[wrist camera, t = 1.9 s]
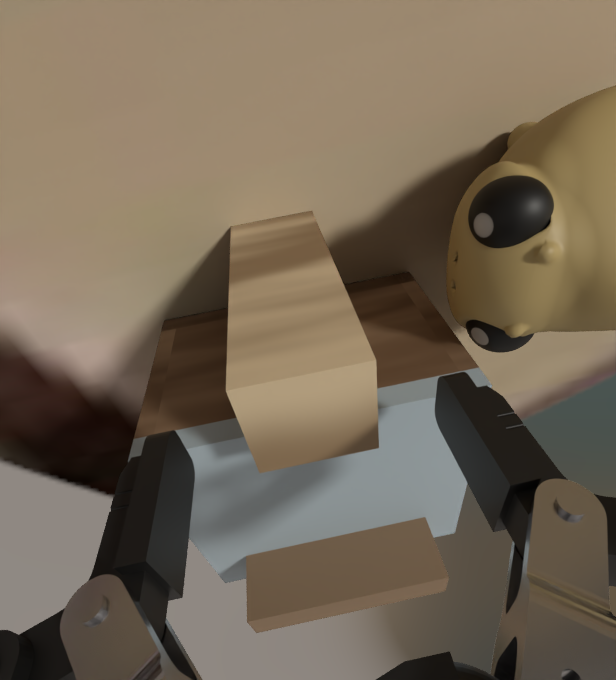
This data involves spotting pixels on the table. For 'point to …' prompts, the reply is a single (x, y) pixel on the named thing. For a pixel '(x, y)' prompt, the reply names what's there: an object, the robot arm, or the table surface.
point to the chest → (211, 353)
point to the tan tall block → (296, 348)
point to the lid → (329, 514)
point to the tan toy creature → (540, 231)
